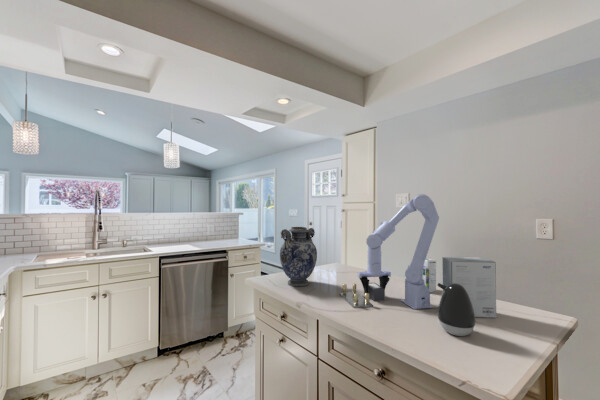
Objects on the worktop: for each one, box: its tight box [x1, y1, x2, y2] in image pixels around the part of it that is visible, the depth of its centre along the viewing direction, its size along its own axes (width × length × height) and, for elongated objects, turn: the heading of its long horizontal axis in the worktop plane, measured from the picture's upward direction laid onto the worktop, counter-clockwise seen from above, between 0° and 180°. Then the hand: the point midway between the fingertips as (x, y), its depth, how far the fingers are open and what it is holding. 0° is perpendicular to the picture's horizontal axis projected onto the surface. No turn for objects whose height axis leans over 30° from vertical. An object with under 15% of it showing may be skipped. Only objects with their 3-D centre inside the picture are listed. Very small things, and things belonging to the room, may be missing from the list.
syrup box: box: [422, 257, 437, 293], centre depth 126 cm, size 6×6×14 cm
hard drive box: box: [441, 256, 497, 319], centre depth 100 cm, size 16×8×20 cm, turn 84°
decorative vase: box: [279, 226, 318, 287], centre depth 135 cm, size 21×19×28 cm
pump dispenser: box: [437, 282, 476, 337], centre depth 85 cm, size 10×10×15 cm
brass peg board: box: [339, 283, 374, 309], centre depth 112 cm, size 16×8×5 cm, turn 11°
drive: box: [363, 282, 386, 302], centre depth 116 cm, size 9×5×5 cm, turn 11°
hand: (374, 293), depth 116 cm, fingers open, 7 cm apart
